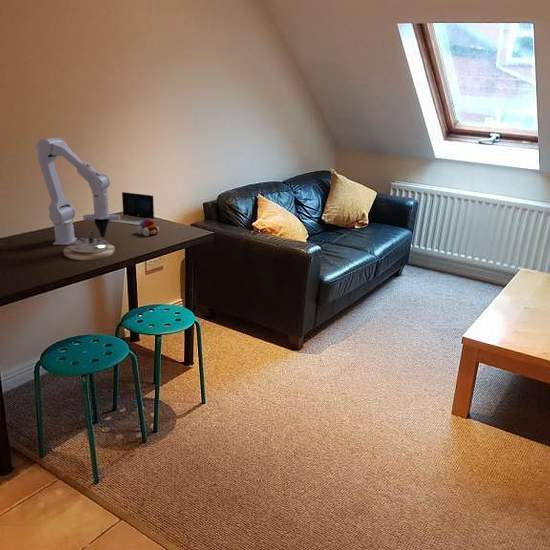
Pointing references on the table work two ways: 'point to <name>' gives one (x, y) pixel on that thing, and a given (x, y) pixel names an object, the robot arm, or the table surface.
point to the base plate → (95, 256)
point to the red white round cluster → (147, 228)
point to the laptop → (136, 208)
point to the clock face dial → (89, 245)
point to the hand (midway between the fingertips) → (103, 236)
